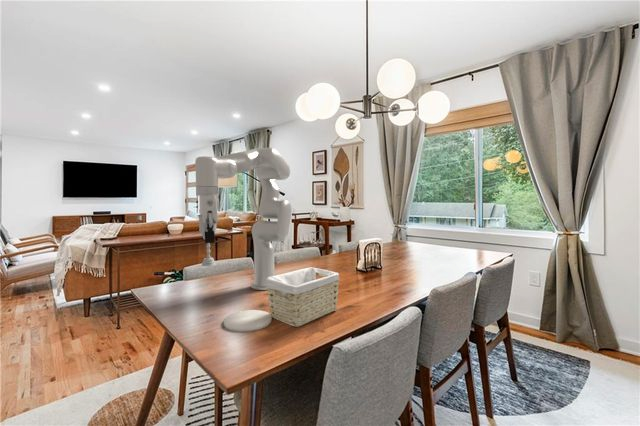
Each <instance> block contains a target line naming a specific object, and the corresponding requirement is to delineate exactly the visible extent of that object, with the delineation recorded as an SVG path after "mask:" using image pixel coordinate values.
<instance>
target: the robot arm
mask: <svg viewBox="0 0 640 426" xmlns="http://www.w3.org/2000/svg"><path fill="white" fill-rule="evenodd" d="M194 162H195V163H194V165H195V166H194V168H195V196H198V197H199V215H200V216H202V221H203V223H204V224H205V231H206V232H205V240H204V238H203V237H202V236H201V239H202V241H204V243H205V244H207V243H210V244H214V243H215V241H216V240H215V237H216V236H215V234H214V223H213V219H214V222H216V224H217V223H218V222H219V217H218V203H217V197H218V196H219V179H222V180H223V179H231V178H233V177H234V176H236V174H242V173H247V172H250V171H253V170H255V173H256V176H257V179H258V181H259V182H260V185H261V190H262V191H261V197H260V203H259V206H258V207H259V210H258V215H259V217H260V218H262V219H266V220H258V221H256V222H255V223H254V224H253V225H252V228H251V235H252V240H253V261H254V263H253V264H254V265H253V267H254V270H253V271H254V272H253V274H254V276H253V277H254V278H253V279H254V280H253V281H254V282H252V283H251V284H250V287H251V289H252V290H257V291H259V290H260V291H268V289H267V282H266V279H267V278H268V277H272V276H275V247H274V245H273V243H272V242H274V243H275V242H277V243H282V242H283V243H284V242H285V241H286V240H287V238H288V237H289V233H290V225H291V219H292V211H293V210H292V204H291V202H289V200H286V199H280V188H279V185H278V184H277V183H276V181H286V180H287V179H288V178H289V177H290V174H291V168H290V165H289V164H288V162H287V160H286V159H285V158H284V157H283V155H282V154H281V153H280V152H279V151H278V150H277V149H275V148H274V147H262V148H261V147H259V148H252V149H249V150H244V151H239V152H234V153H229V154H225V155H219V156H206V155H205V156H204V155H203V156H198V157H196V158H195V161H194ZM271 220H273V221H271ZM274 220H276V221H274ZM206 221H209V223H206Z"/></svg>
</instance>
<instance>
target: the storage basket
mask: <svg viewBox="0 0 640 426" xmlns="http://www.w3.org/2000/svg"><path fill="white" fill-rule="evenodd" d="M318 276H319V277H321V278H318ZM266 282H267V289H268V290H267V294H268V300H269V301H268V304H269V309H270V311H269V312H270V315H271V319H275V320H277V321H279V322H282V323H284V324H286V325H290V326H291V327H295V328H299V327H300V326H301V327H302V326H304V325H305V324H309V323H310V322H312V321H314V320H316V319H319V318H321V317H324V316H325V315H328V314H330V313H332V312H335V311H336V310H338V294H339V286H340V285H339V284H340V274H339V272H335V271H332V270H327V269H323V268H317V267H309V266H308V267H307V268H302V269H301V268H300V269H297V270H294V271H289V272H285V273H281V274H277V275H274V276H272V277H268V278H267V279H266Z"/></svg>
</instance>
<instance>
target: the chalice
mask: <svg viewBox="0 0 640 426" xmlns="http://www.w3.org/2000/svg"><path fill="white" fill-rule="evenodd" d="M197 218H198V226H199V227H198V228H199V233H200V234H201V238H202V237H203V238H204V241H205V232H206V231H205V224H204V223H203V221H202V216H200V214H198V215H197ZM206 223H209V221H206ZM213 223H214V235H215V234H216V231H217V223H216V222H214V219H213ZM205 247H206V250H205V252H206V254H207V255H206V257H204V258H203V260H202V263H201V267H211V266H212V267H213V266H216V265H217V263H216V262H215V261H216V260H215V259H214V257H212V256H211V252H212V251H211V249H210V248H211V243H206V246H205Z"/></svg>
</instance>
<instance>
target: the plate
mask: <svg viewBox="0 0 640 426" xmlns="http://www.w3.org/2000/svg"><path fill="white" fill-rule="evenodd" d="M223 319H224V320H223V327H224V328H225V329H226V330H229V331H232V332H237V333H248V332H255V331H259V330H261V329H264V328H266V327H268V326H269V325H271V323H272V317H271V313H269V312H268V311H265V310H259V309H248V310H247V309H246V310H240V311H236V312H233V313H231V314H228V315H227V316H225V318H223Z"/></svg>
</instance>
